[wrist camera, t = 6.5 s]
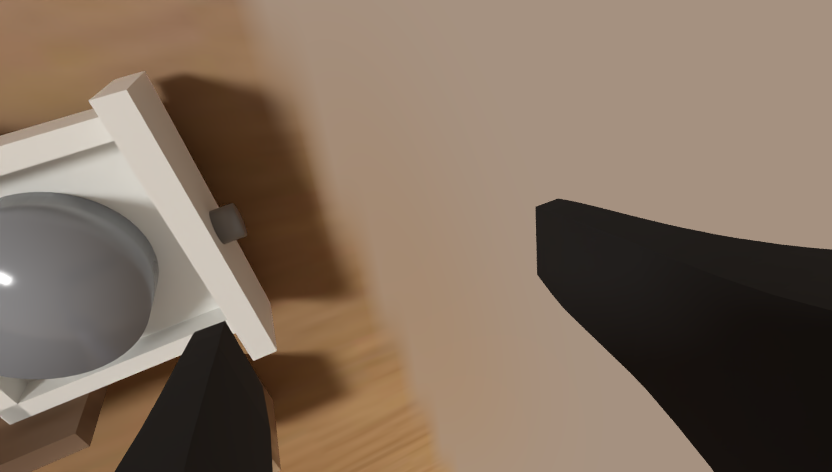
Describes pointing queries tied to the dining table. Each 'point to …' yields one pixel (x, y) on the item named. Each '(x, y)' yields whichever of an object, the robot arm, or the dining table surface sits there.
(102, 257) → the grey dome
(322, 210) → the dining table surface
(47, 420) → the open square box
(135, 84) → the white drawer
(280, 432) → the dining table surface
